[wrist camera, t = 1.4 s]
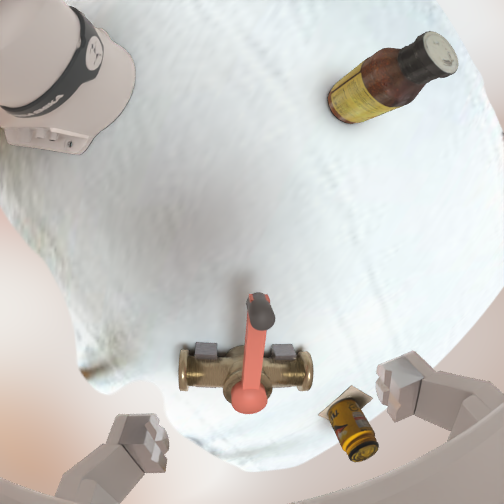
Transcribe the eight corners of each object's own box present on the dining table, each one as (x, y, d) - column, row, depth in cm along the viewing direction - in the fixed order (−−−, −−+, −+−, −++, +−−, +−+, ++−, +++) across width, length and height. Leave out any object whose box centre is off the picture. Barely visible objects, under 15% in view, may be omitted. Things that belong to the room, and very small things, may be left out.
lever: (230, 403, 35) (232, 425, 31) (237, 290, 31) (240, 307, 27) (263, 403, 35) (267, 425, 31) (278, 292, 31) (286, 308, 27)
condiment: (317, 414, 46) (337, 462, 35) (351, 384, 45) (379, 430, 34) (340, 424, 48) (361, 468, 37) (372, 397, 47) (399, 438, 36)
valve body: (183, 374, 41) (179, 405, 34) (182, 340, 40) (176, 369, 33) (298, 375, 43) (309, 404, 37) (304, 342, 42) (318, 369, 35)
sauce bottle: (363, 130, 35) (469, 107, 16) (322, 116, 34) (412, 71, 15) (369, 89, 34) (467, 46, 14) (329, 74, 33) (412, 9, 13)
